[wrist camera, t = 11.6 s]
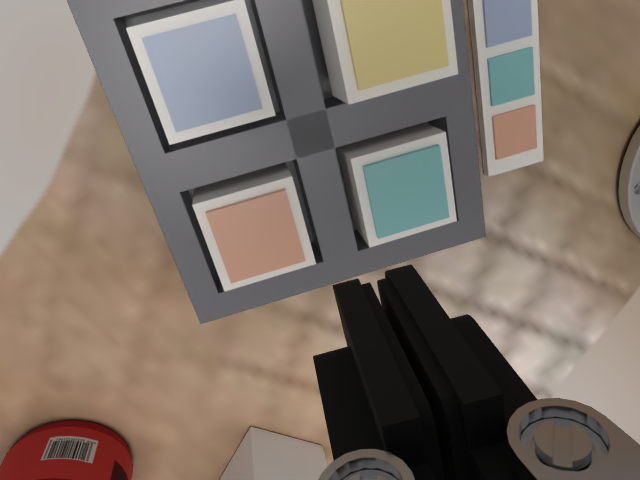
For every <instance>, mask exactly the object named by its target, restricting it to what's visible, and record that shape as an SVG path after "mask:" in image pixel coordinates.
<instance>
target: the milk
mask: <svg viewBox="0 0 640 480" xmlns="http://www.w3.org/2000/svg"><path fill="white" fill-rule="evenodd" d="M327 467H328V466H327V462H326V458H325V454H324V450H323V447H322V446H321V445H318V444H314V443H310V442H307V441H303V440H299V439H296V438H292V437H288V436H285V435H281V434H277V433H273V432H270V431H266V430H262V429H259V428H255V427H250V428H249V430H248V432H247V433H246V435H245V437H244V438H243V440H242V442H241V444H240V445H239V447H238V449H237V450H236V452H235V454H234V456H233V457H232V459H231V461H230V462H229V464H228V466H227V467H226V469H225V471H224V473H223V474H222V476H221V478H220V479H219V480H318V479H319V477H320V475H321V473H322V472H323V471H324V470H325V469H326V468H327Z"/></svg>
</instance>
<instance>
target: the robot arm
mask: <svg viewBox="0 0 640 480" xmlns="http://www.w3.org/2000/svg"><path fill="white" fill-rule="evenodd" d="M619 200H620V208H621V210H622V213H623V216H624V219H625V221H626V223H627V224H628V226H629V227H630V229H631V230H632V232H634V233H635V234H636V235H637V236H638V237H639V238H640V125H639V127H638V129H637V130H636V132H635V134H634V135H633V137H632V139H631V142H630V144H629V146H628V149H627V151H626V154H625V156H624V160H623V164H622V168H621V172H620V179H619ZM377 284H378V290H379V295H380V300H381V304H380V302H379V300H378V298H377V296H376V294H375V292H374V289H373V287H372V285H371V284H370V283H366V284H362V285H361V283H360V281H359V279H354V280H351V281H347V282H343V283H339V284H336V285H333V289H334V293H335V297H336V302H337V306H338V310H339V314H340V318H341V322H342V326H343V330H344V334H345V338H346V342H347V346H348V347H345V348H341V349H338V350H334V351H330V352H326V353H323V354H319V355H315V356H313V359H314V364H315V369H316V374H317V379H318V384H319V389H320V394H321V399H322V404H323V409H324V414H325V419H326V424H327V429H328V434H329V439H330V444H331V449H332V454H333V459H334V461H333V462H332V463H331V464H330V465H329V466H328V467H327V468H326V469H325V470H324V471H323V472H322V473H321V475H320V477H319V479H318V480H640V445H639V444H638V443H637V442H636V441H635V440H633V439H632V438H631V437H630V436H629V435H627V434H626V433H625V432H624V431H623V430H621V429H620V428H619V427H618V426H617V425H615V424H614V423H613V422H612V421H611V420H609V419H608V418H607V417H606V416H604V415H603V414H601V413H599V412H598V411H597V410H595V409H593V408H592V407H590V406H587V405H584V404H582V403H579V402H576V401H572V400H567V399H561V398H546V399H539V400H537V399H536V397H535V396H534V395H533V393H532V392H531V391H530V390H529V388H528V387H527V386H526V385H525V383H524V382H523V381H522V379H521V378H520V377H519V376H518V374H517V373H516V372H515V371H514V369H513V368H512V367H511V366H510V364H509V363H508V362H507V360H506V359H505V358H504V357H503V355H502V354H501V353H500V352H499V350H498V349H497V348H496V347H495V345H494V344H493V343H492V341H491V340H490V339H489V338H488V336H487V335H486V334H485V333H484V331H483V330H482V329H481V327H480V326H479V325H478V324H477V322H476V321H475V320H474V319H473V318H472V317H471V316H470V315H467V314H466V315H463V316H459V317H455V318H452V319H450V318H449V317H448V315H447V314H446V312H445V311H444V309H443V308H442V307H441V305H440V304H439V302H438V301H437V300H436V298H435V297H434V295H433V294H432V292H431V291H430V290H429V288H428V287H427V285H426V284H425V283H424V281H423V280H422V278H421V277H420V275H419V274H418V273H417V271H416V270H415V268H414V267H413V266H412V265H407V266H403V267H399V268H396V269H392V270H388V271H385V279H381V280H378V281H377ZM381 305H382V306H381Z"/></svg>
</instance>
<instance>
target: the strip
mask: <svg viewBox="0 0 640 480" xmlns="http://www.w3.org/2000/svg"><path fill="white" fill-rule="evenodd" d="M468 10H469V21H470V31H471V42H472V53H473V63H474V74H475V85H476V95H477V106H478V116H479V127H480V138H481V148H482V159H483V170H484V175H486V176H488V177H490V176H494V175H497V174H500V173H504V172H507V171H511V170H514V169H517V168H521V167H524V166H527V165H531V164H534V163H537V162H541V161H544V160H543V134H542V108H541V82H540V56H539V30H538V4H537V0H468Z"/></svg>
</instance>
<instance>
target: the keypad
mask: <svg viewBox="0 0 640 480" xmlns="http://www.w3.org/2000/svg"><path fill="white" fill-rule="evenodd" d="M229 1H233V0H67V2H68V5H69V7H70V9H71V12H72V14H73V17H74V19H75V22H76V24H77V26H78V29H79V31H80V34H81V36H82V39H83V41H84V43H85V45H86V48H87V51H88V53H89V56H90V58H91V60H92V62H93V65H94V68H95V70H96V72H97V75H98V77H99V80H100V82H101V85H102V87H103V89H104V92H105V94H106V97H107V99H108V101H109V104H110V106H111V109H112V111H113V114H114V116H115V118H116V121H117V123H118V126H119V128H120V130H121V133H122V135H123V138H124V140H125V143H126V145H127V147H128V150H129V152H130V155H131V157H132V159H133V162H134V164H135V167H136V169H137V172H138V174H139V176H140V179H141V181H142V184H143V186H144V188H145V191H146V193H147V196H148V198H149V201H150V203H151V205H152V208H153V210H154V213H155V215H156V217H157V220H158V222H159V225H160V227H161V230H162V232H163V234H164V237H165V239H166V242H167V244H168V246H169V249H170V251H171V254H172V256H173V259H174V261H175V263H176V266H177V268H178V271H179V273H180V275H181V278H182V280H183V283H184V285H185V288H186V290H187V292H188V295H189V297H190V300H191V302H192V304H193V307H194V309H195V312H196V314H197V317H198V319H199V321H200V324H203V323H206V322H209V321H212V320H216V319H219V318H222V317H225V316H229V315H232V314H235V313H238V312H242V311H245V310H248V309H251V308H255V307H258V306H261V305H264V304H268V303H271V302H274V301H277V300H281V299H284V298H287V297H290V296H294V295H297V294H300V293H303V292H307V291H310V290H313V289H316V288H320V287H323V286H326V285H329V284H333V283H336V282H339V281H342V280H346V279H349V278H352V277H355V276H359V275H362V274H365V273H368V272H372V271H375V270H378V269H381V268H385V267H388V266H391V265H394V264H398V263H401V262H404V261H407V260H411V259H414V258H417V257H420V256H424V255H427V254H430V253H433V252H437V251H440V250H443V249H446V248H450V247H453V246H456V245H459V244H463V243H466V242H469V241H472V240H476V239H479V238H482V237H485V236H486V233H485V223H484V213H483V203H482V193H481V182H480V172H479V162H478V152H477V142H476V131H475V121H474V111H473V101H472V90H471V80H470V70H469V60H468V50H467V39H466V29H465V19H464V9H463V0H450V2H451V11H452V20H453V29H454V39H455V48H456V57H457V67H458V74H457V75H453V76H450V77H446V78H442V79H439V80H435V81H432V82H428V83H425V84H421V85H417V86H414V87H410V88H407V89H403V90H399V91H396V92H392V93H389V94H385V95H382V96H378V97H374V98H371V99H367V100H364V101H360V102H357V103H353V104H349V105H348V104H347V103H345V102H343V101H341V100H340V99H338V98H336V97H334V96H333V94H332V89H331V85H330V80H329V76H328V71H327V66H326V62H325V57H324V53H323V48H322V43H321V39H320V34H319V30H318V25H317V21H316V16H315V11H314V7H313V2H312V0H244V1H245V5H246V8H247V12H248V16H249V19H250V23H251V27H252V30H253V34H254V38H255V41H256V45H257V49H258V52H259V56H260V60H261V64H262V67H263V71H264V75H265V78H266V82H267V86H268V89H269V93H270V97H271V100H272V104H273V108H274V111H275V115H276V116H272V117H268V118H265V119H261V120H258V121H254V122H250V123H247V124H243V125H240V126H236V127H233V128H229V129H225V130H222V131H218V132H215V133H211V134H207V135H204V136H200V137H197V138H193V139H189V140H186V141H182V142H179V143H175V144H171V145H169V142H168V139H167V137H166V134H165V131H164V129H163V126H162V123H161V121H160V118H159V115H158V113H157V110H156V107H155V105H154V102H153V99H152V97H151V94H150V91H149V89H148V86H147V83H146V81H145V78H144V75H143V73H142V70H141V67H140V65H139V62H138V59H137V57H136V54H135V51H134V49H133V46H132V43H131V41H130V38H129V35H128V33H127V30H126V28H128V27H132V26H136V25H140V24H144V23H148V22H152V21H156V20H159V19H163V18H167V17H171V16H175V15H179V14H183V13H187V12H191V11H194V10H198V9H202V8H206V7H210V6H214V5H218V4H222V3H225V2H229ZM424 122H425V123H427V124H430V125H432V126H434V127H436V128H438V129H441V130H443V131H445V132H446V138H447V146H448V154H449V162H450V170H451V178H452V186H453V194H454V202H455V210H456V218H457V221H456V222H452V223H449V224H446V225H442V226H439V227H436V228H432V229H429V230H426V231H423V232H419V233H416V234H413V235H409V236H406V237H403V238H400V239H396V240H393V241H390V242H386V243H383V244H380V245H377V246H373V247H369V246H368V245H367V243H366V242H365V240H364V239H363V237H362V236H361V235H360V233H359V232H358V230H357V229H356V227H355V226H354V221H353V217H352V212H351V208H350V203H349V199H348V195H347V190H346V186H345V181H344V177H343V172H342V168H341V163H340V159H339V154H338V150H337V147H340V146H344V145H347V144H351V143H354V142H358V141H361V140H365V139H368V138H372V137H375V136H379V135H382V134H386V133H389V132H393V131H396V130H400V129H403V128H407V127H410V126H414V125H417V124H421V123H424ZM284 162H285V163H286V165H287V167H288V169H289V171H290V173H291V175H292V177H293V181H294V185H295V188H296V192H297V196H298V199H299V203H300V207H301V211H302V214H303V218H304V222H305V225H306V229H307V233H308V236H309V240H310V244H311V247H312V251H313V255H314V258H315V262H316V264H314V265H311V266H308V267H304V268H301V269H298V270H294V271H291V272H288V273H285V274H281V275H278V276H275V277H271V278H268V279H265V280H262V281H258V282H255V283H252V284H248V285H245V286H242V287H238V288H235V289H232V290H229V291H224V289H223V286H222V283H221V281H220V278H219V275H218V273H217V270H216V267H215V265H214V262H213V259H212V257H211V254H210V251H209V249H208V246H207V243H206V241H205V238H204V235H203V233H202V230H201V227H200V225H199V222H198V219H197V217H196V214H195V211H194V209H193V206H192V202H193V195H194V189H195V188H197V187H200V186H204V185H207V184H211V183H214V182H218V181H221V180H225V179H228V178H232V177H235V176H239V175H242V174H246V173H249V172H253V171H256V170H260V169H263V168H267V167H270V166H274V165H277V164H281V163H284Z"/></svg>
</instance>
